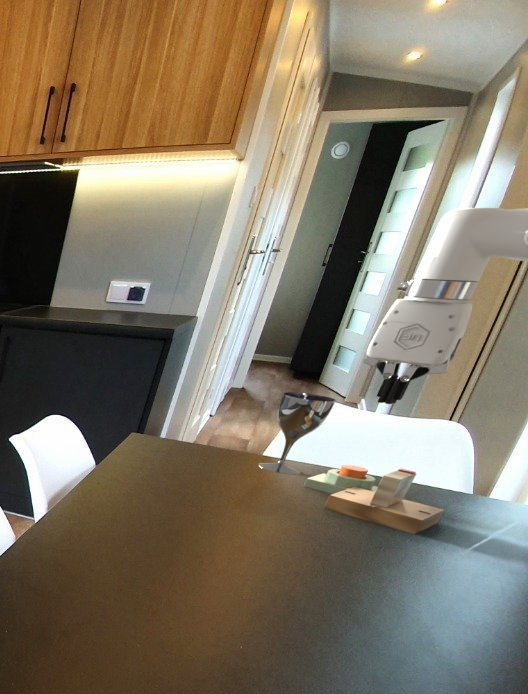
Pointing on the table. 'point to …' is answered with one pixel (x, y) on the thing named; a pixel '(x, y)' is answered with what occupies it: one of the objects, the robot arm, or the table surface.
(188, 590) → the table surface
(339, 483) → the button box
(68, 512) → the table surface
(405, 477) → the holder
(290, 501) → the table surface
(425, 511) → the holder base
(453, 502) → the table surface
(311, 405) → the wine glass
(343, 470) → the button
